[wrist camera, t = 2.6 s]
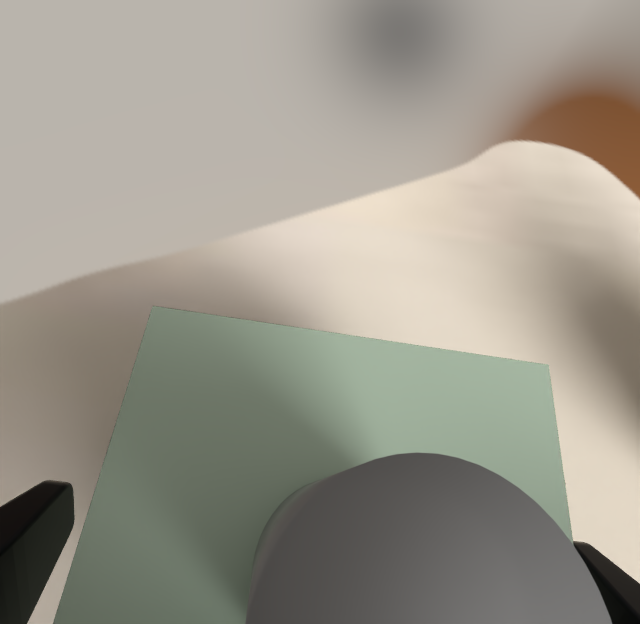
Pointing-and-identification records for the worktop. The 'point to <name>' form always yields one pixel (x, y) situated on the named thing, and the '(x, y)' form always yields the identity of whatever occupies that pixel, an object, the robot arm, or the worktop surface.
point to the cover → (327, 486)
